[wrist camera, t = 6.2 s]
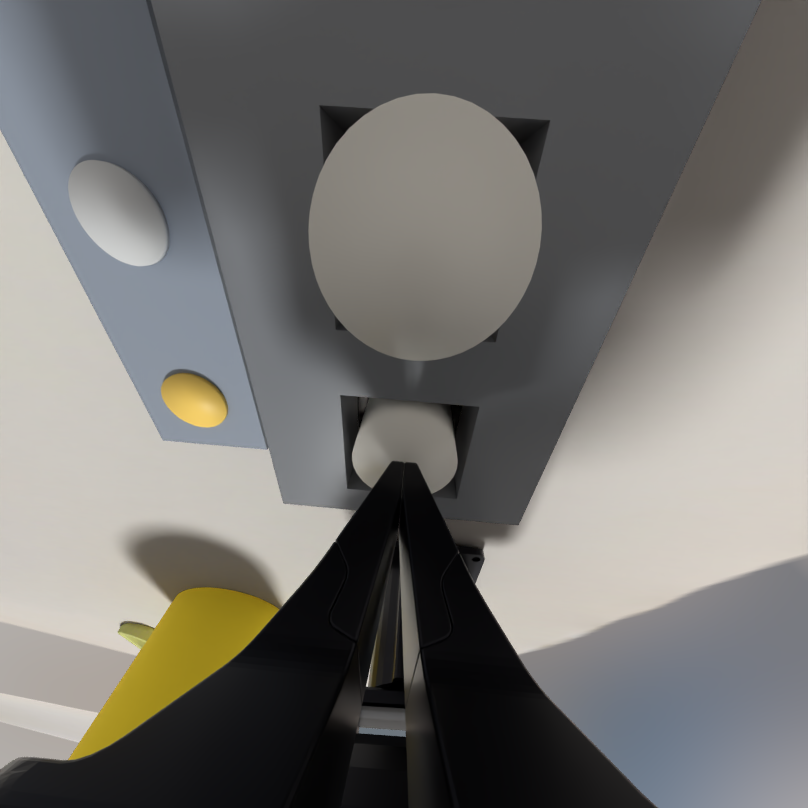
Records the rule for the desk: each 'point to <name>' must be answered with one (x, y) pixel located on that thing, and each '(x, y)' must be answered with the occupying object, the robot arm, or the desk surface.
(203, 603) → the yellow cylinder with hole
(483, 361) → the button panel
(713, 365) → the desk surface
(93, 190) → the pattern card
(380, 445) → the button
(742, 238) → the desk surface
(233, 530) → the desk surface
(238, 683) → the robot arm
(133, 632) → the key
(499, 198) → the button middle
